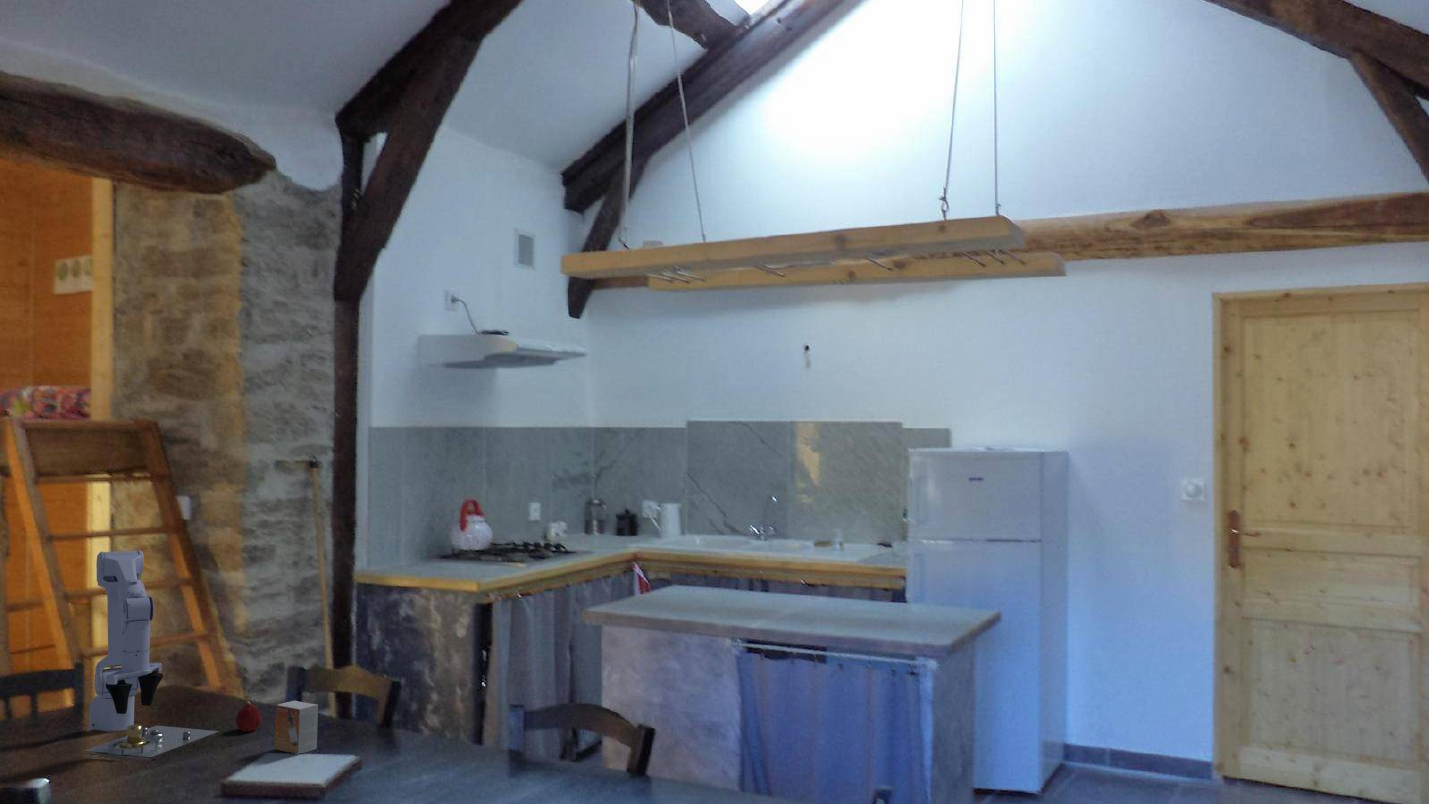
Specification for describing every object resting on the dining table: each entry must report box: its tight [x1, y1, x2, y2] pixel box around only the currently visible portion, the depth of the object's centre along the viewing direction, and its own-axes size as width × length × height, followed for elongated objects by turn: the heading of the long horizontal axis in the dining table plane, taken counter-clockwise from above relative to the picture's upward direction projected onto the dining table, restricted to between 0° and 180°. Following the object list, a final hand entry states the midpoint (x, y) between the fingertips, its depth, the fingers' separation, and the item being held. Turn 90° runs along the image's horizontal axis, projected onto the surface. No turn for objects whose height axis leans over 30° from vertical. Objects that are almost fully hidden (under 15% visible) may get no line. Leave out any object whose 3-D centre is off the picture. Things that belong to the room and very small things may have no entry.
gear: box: [119, 724, 149, 748], centre depth 250 cm, size 6×6×5 cm
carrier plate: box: [84, 725, 219, 762], centre depth 256 cm, size 18×23×3 cm
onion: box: [235, 700, 262, 733], centre depth 266 cm, size 6×6×8 cm
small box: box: [274, 700, 319, 754], centre depth 254 cm, size 8×6×10 cm
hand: (134, 709), depth 250 cm, fingers open, 7 cm apart
